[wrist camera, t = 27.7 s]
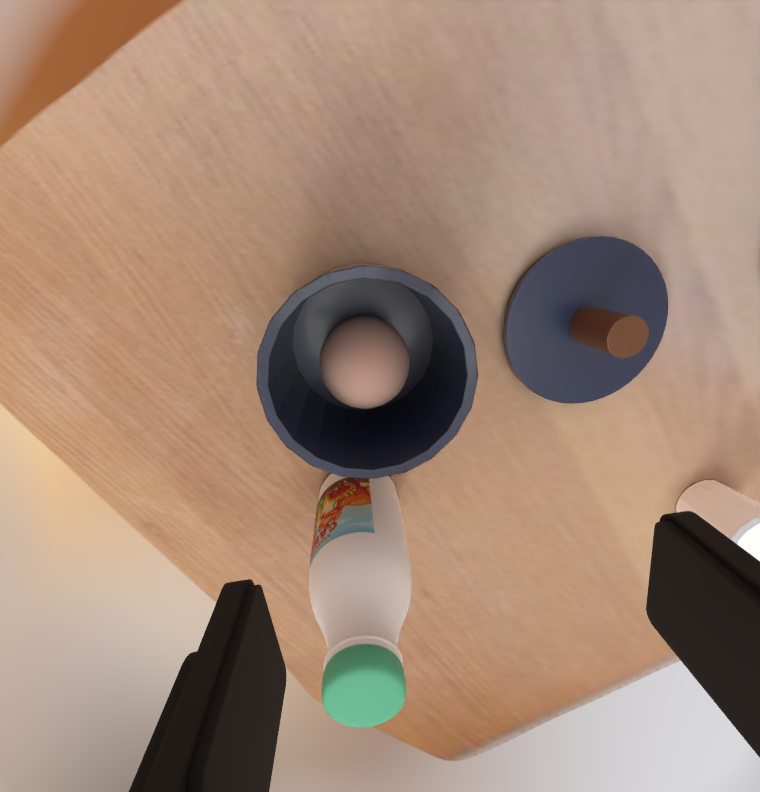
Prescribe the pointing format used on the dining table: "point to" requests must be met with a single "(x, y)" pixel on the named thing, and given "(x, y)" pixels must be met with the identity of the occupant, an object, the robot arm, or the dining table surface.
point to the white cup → (725, 512)
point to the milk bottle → (360, 597)
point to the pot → (380, 426)
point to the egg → (364, 362)
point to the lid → (585, 319)
